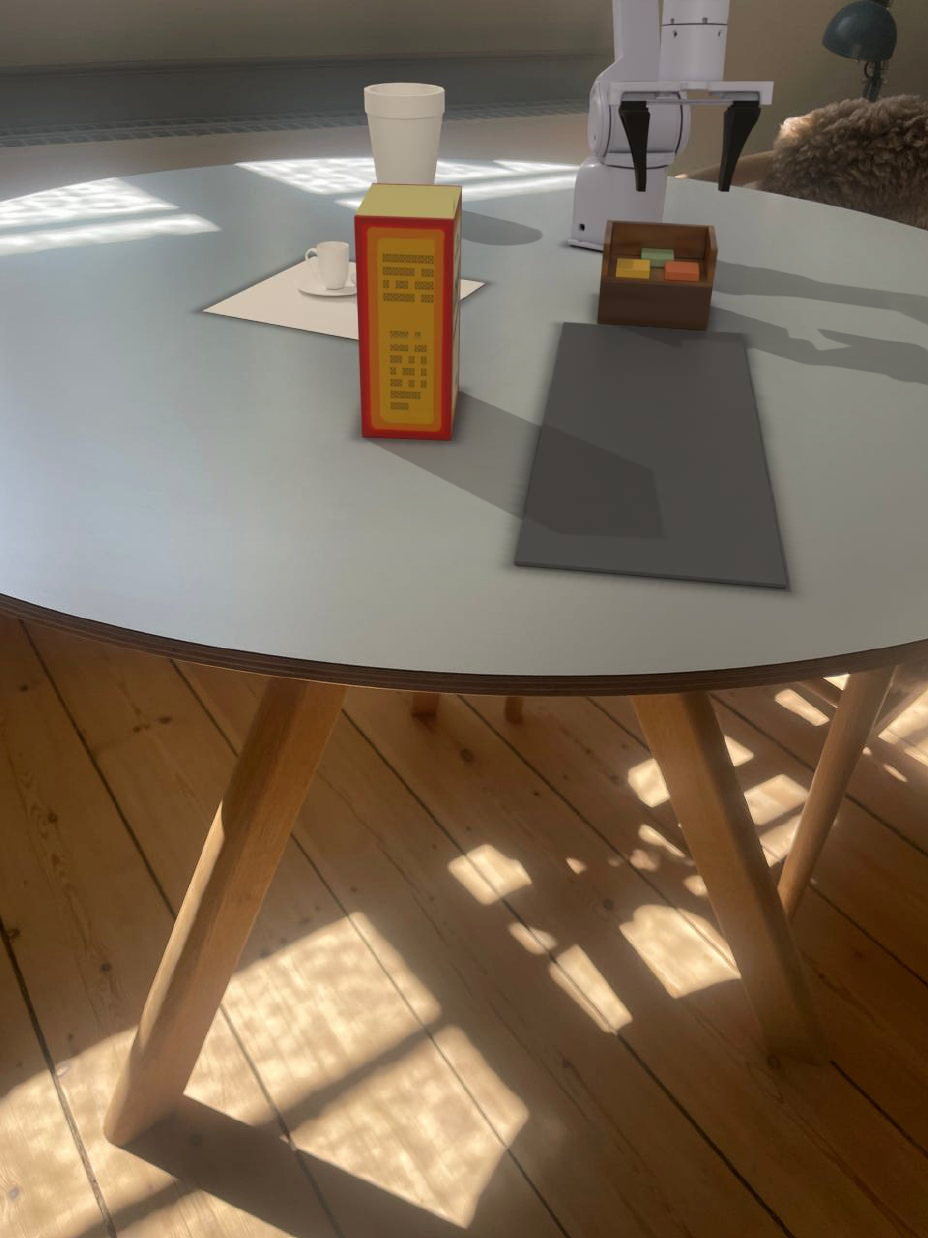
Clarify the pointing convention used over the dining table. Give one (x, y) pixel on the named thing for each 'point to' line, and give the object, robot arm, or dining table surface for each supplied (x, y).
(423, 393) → the baking soda box
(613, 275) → the tray
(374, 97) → the foam cup
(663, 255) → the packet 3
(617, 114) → the robot arm
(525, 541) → the mat
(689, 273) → the packet
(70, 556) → the dining table surface
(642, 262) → the packet
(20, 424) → the dining table surface
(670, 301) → the brown wooden box panel
